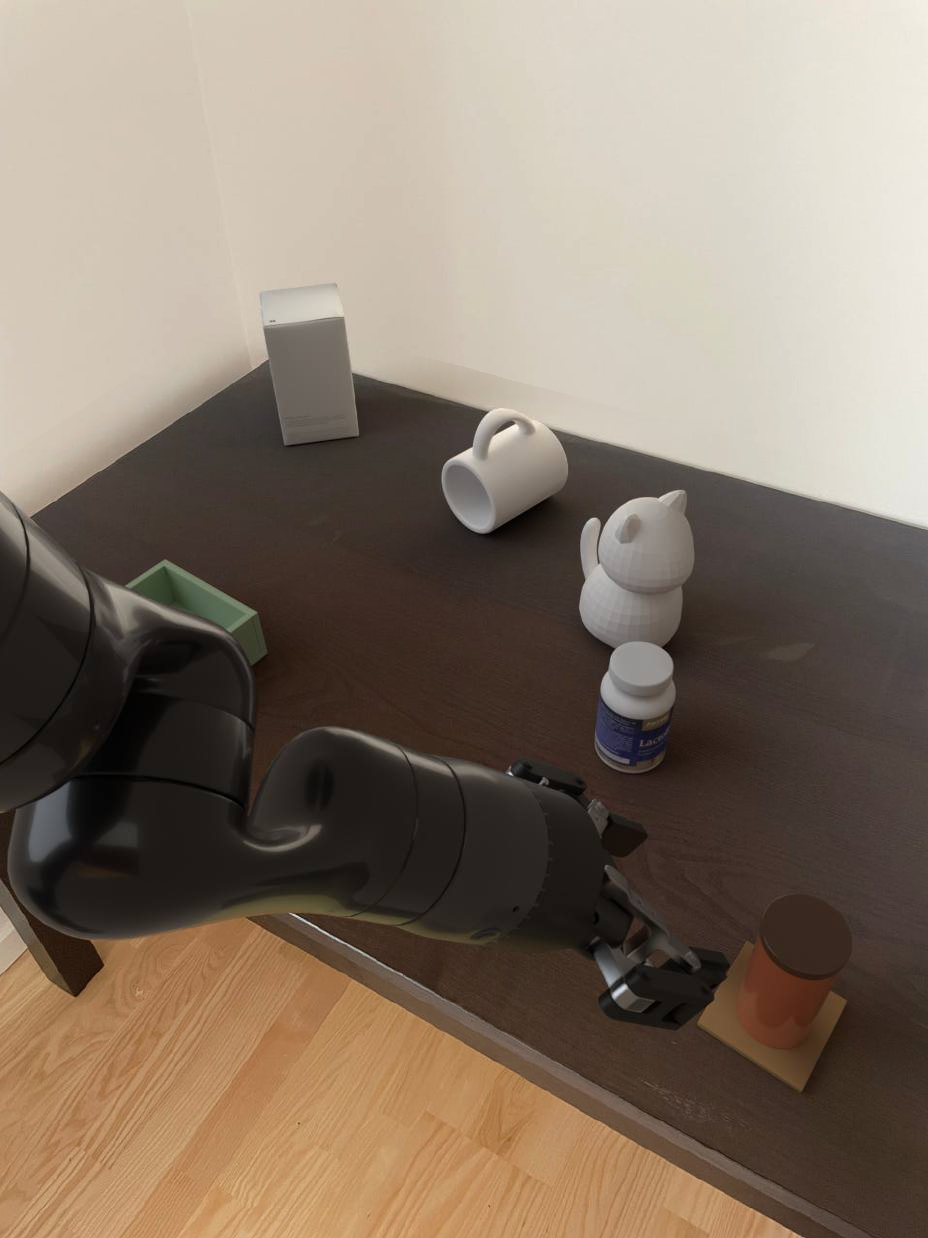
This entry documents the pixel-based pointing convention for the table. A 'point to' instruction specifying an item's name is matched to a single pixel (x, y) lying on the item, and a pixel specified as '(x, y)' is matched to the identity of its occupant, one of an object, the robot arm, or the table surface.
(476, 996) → the table surface
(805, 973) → the spice jar
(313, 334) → the rectangular carton
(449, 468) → the mug
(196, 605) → the crate
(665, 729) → the pill bottle
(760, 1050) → the coaster
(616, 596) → the cat figurine
